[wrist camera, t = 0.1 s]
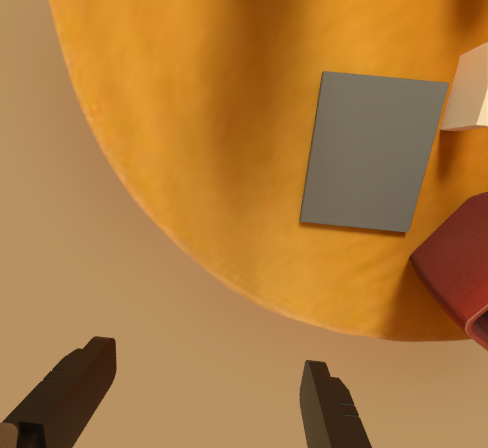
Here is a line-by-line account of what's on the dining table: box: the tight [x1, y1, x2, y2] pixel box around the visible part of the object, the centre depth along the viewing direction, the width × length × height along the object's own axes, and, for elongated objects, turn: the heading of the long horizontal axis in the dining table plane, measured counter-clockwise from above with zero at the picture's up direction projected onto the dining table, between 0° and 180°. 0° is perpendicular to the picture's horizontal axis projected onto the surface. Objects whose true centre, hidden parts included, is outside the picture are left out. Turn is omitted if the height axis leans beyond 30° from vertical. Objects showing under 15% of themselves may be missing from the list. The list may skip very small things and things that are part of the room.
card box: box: [440, 42, 488, 131], centre depth 31 cm, size 9×2×6 cm, turn 175°
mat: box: [300, 71, 449, 233], centre depth 36 cm, size 20×16×1 cm
